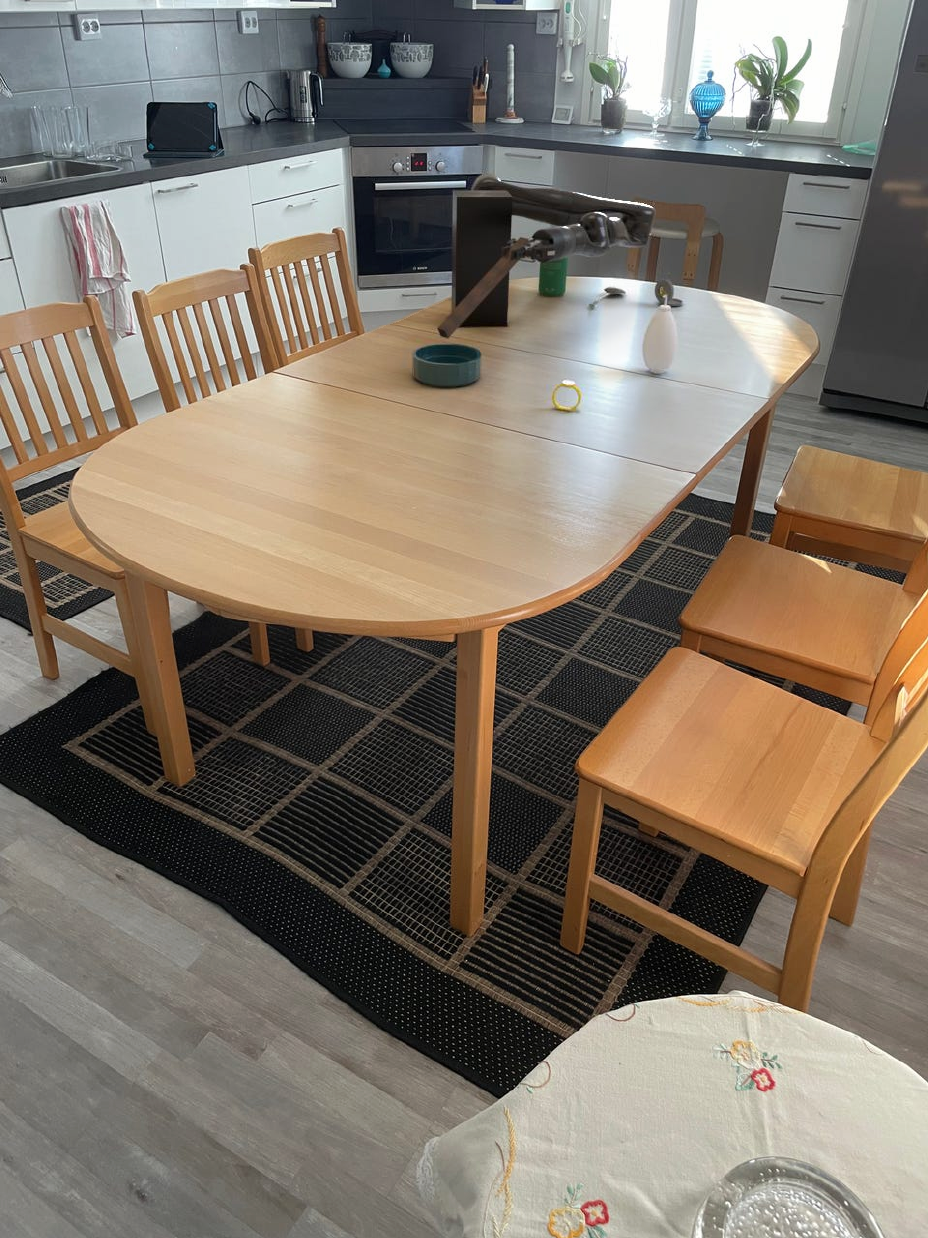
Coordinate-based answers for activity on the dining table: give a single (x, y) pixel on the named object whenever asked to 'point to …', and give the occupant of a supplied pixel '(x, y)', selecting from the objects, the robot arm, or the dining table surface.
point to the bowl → (446, 365)
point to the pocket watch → (666, 289)
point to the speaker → (480, 251)
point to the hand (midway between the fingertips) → (507, 253)
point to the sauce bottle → (660, 340)
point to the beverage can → (553, 278)
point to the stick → (480, 291)
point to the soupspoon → (609, 291)
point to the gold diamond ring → (568, 385)
